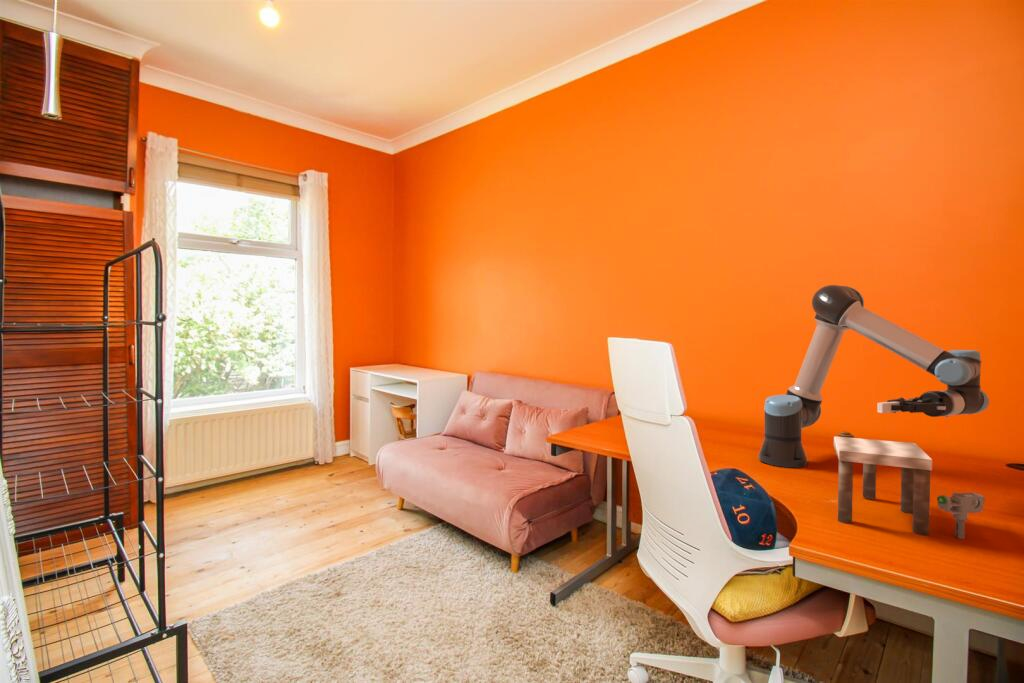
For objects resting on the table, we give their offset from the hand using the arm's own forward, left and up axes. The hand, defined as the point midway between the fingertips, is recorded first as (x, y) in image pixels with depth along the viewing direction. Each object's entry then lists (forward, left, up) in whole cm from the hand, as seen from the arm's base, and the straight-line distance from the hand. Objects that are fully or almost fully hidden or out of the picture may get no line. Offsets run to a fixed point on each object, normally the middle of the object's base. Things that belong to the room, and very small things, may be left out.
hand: (879, 407), depth 143 cm
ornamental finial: (-4, +54, -26) cm, 60 cm away
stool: (-3, -18, -25) cm, 31 cm away
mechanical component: (+12, -25, -26) cm, 38 cm away
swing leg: (-3, -7, -25) cm, 26 cm away
